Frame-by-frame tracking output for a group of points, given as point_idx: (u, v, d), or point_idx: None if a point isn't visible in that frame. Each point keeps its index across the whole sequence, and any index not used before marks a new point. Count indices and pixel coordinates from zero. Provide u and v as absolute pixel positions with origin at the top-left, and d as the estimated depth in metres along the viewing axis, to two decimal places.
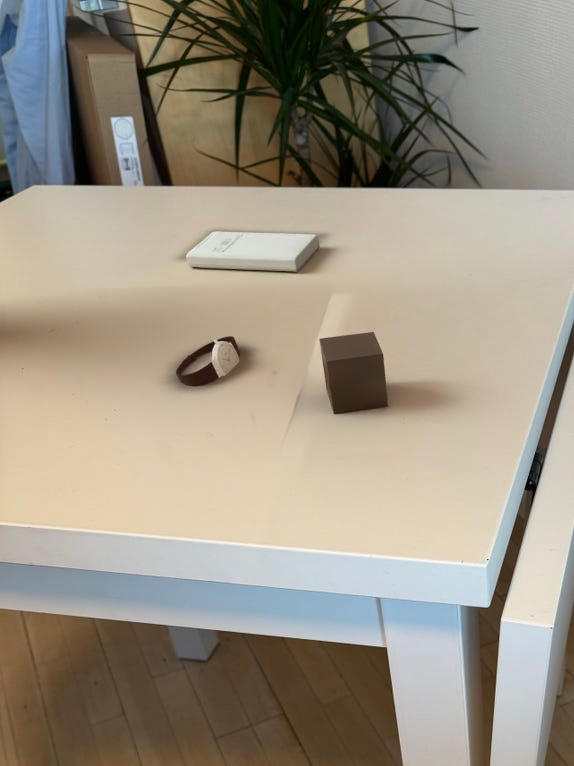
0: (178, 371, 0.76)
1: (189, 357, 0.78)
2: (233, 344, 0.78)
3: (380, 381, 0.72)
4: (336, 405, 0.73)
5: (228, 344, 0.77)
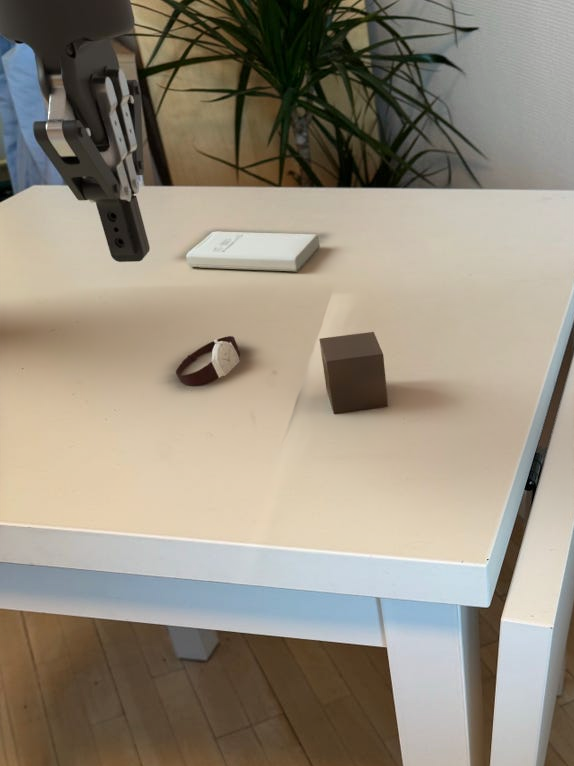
0: (178, 371, 0.76)
1: (189, 357, 0.78)
2: (233, 344, 0.78)
3: (380, 381, 0.72)
4: (336, 405, 0.73)
5: (228, 344, 0.77)
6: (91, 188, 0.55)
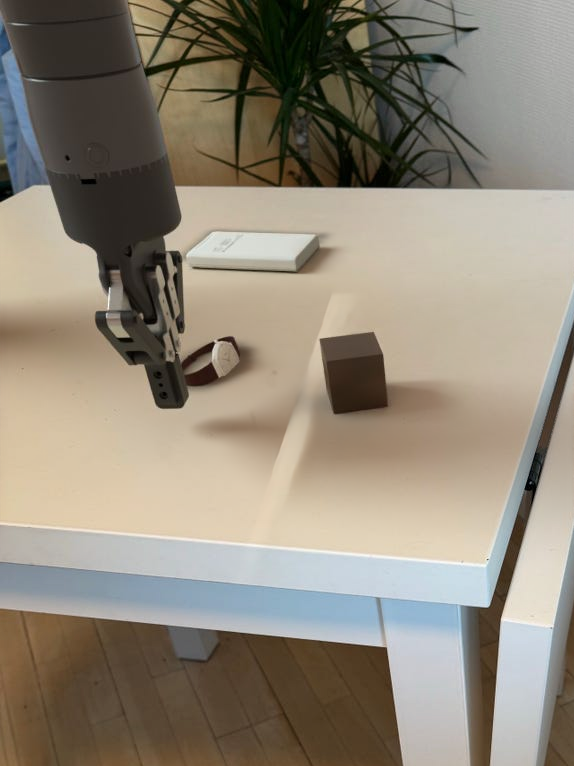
0: None
1: (189, 357, 0.78)
2: (233, 344, 0.78)
3: (380, 381, 0.72)
4: (336, 405, 0.73)
5: (228, 344, 0.77)
6: (141, 356, 0.63)
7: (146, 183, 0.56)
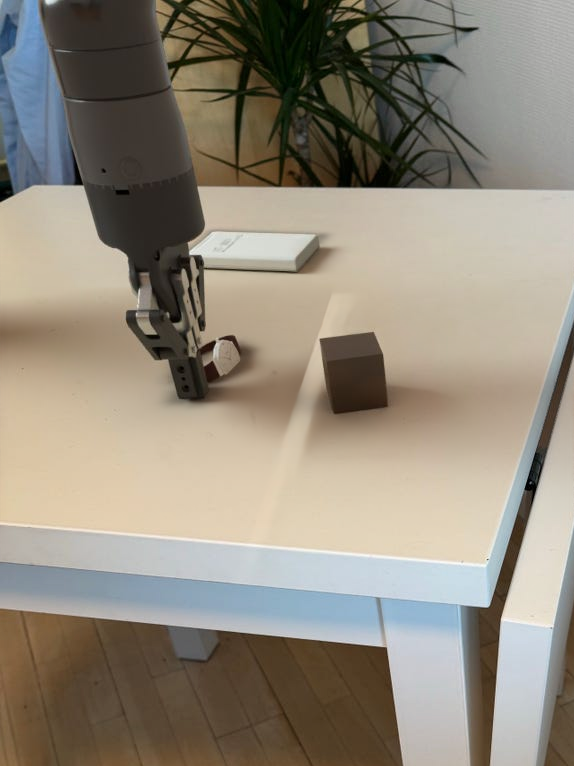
0: None
1: None
2: (234, 342, 0.78)
3: (380, 381, 0.72)
4: (336, 405, 0.73)
5: (229, 343, 0.77)
6: (166, 352, 0.68)
7: (174, 194, 0.61)
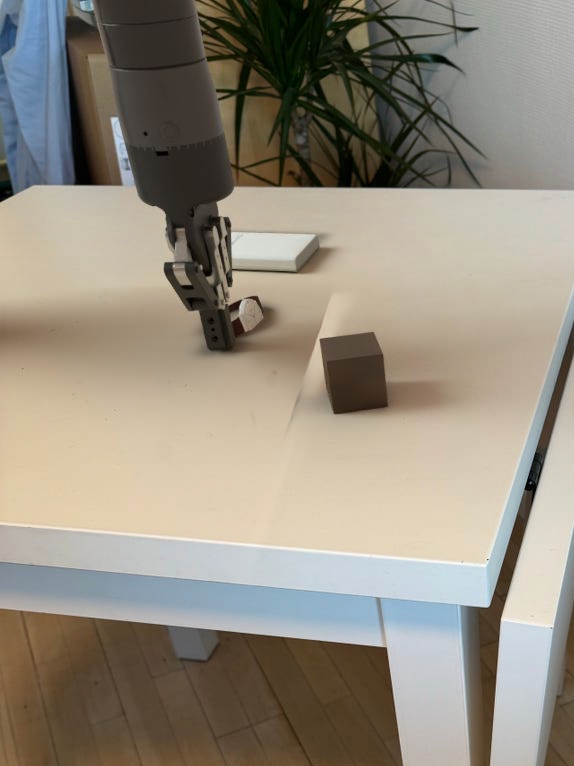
0: None
1: None
2: (258, 302, 0.85)
3: (380, 381, 0.72)
4: (336, 405, 0.73)
5: (253, 301, 0.84)
6: (198, 303, 0.75)
7: (208, 155, 0.68)
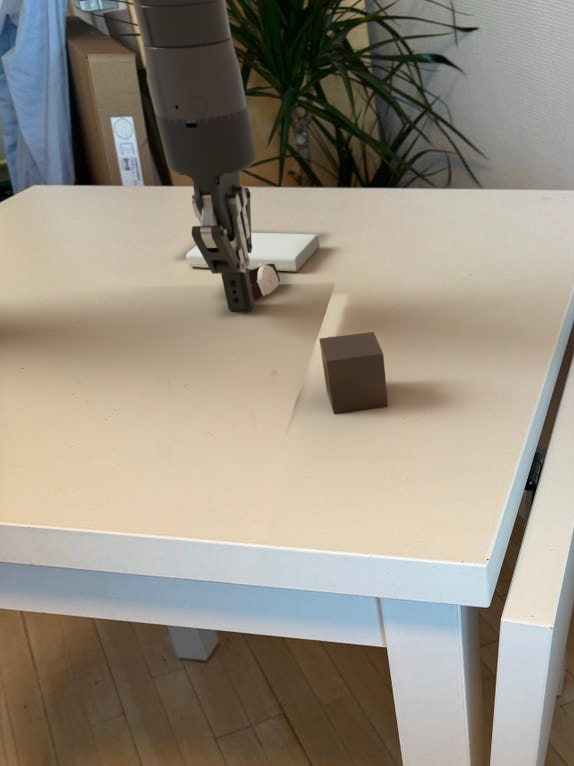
0: None
1: None
2: (274, 269, 0.92)
3: (380, 381, 0.72)
4: (336, 405, 0.73)
5: (270, 268, 0.90)
6: (222, 266, 0.81)
7: (233, 127, 0.75)
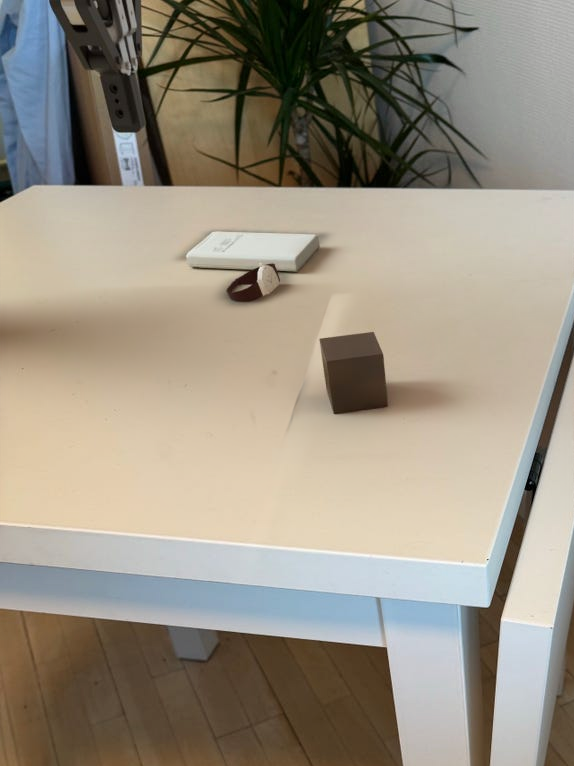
0: (228, 290, 0.90)
1: (236, 280, 0.91)
2: (274, 269, 0.92)
3: (380, 381, 0.72)
4: (336, 405, 0.73)
5: (270, 268, 0.90)
6: (96, 58, 0.64)
7: None
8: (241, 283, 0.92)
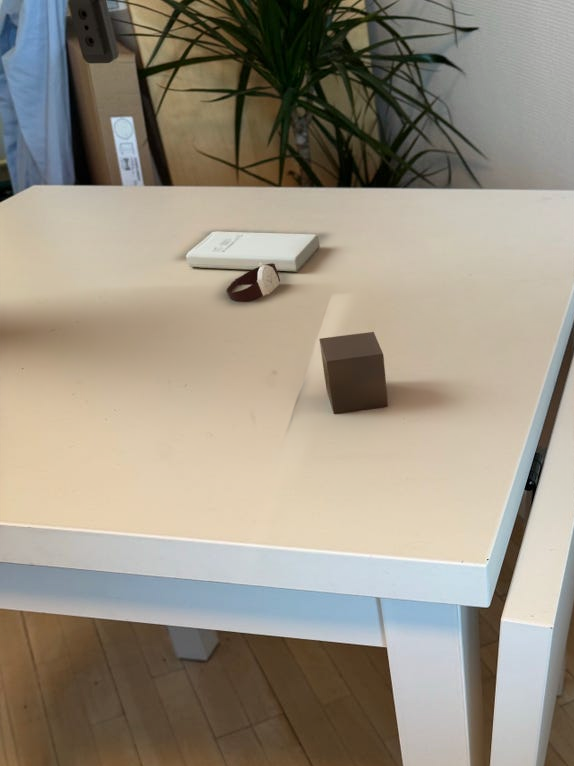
0: (228, 290, 0.90)
1: (236, 280, 0.91)
2: (274, 269, 0.92)
3: (380, 381, 0.72)
4: (336, 405, 0.73)
5: (270, 268, 0.90)
6: None
7: None
8: (241, 283, 0.92)
